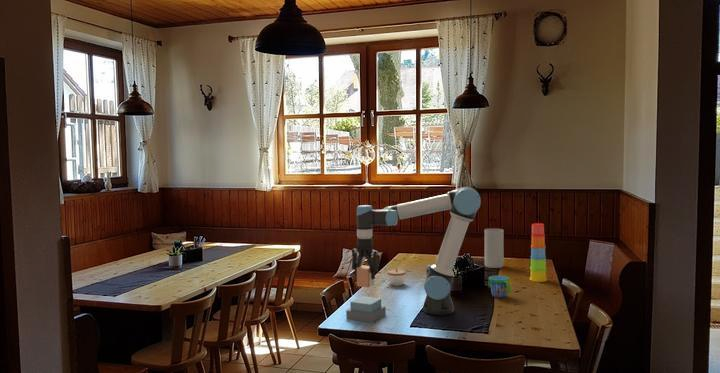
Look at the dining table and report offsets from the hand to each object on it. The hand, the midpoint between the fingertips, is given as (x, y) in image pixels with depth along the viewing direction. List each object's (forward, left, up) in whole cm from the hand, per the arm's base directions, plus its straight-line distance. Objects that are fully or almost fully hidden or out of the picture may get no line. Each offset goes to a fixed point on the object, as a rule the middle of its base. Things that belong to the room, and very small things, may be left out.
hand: (365, 284), depth 256 cm
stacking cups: (-60, -108, -16) cm, 125 cm away
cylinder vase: (-26, -134, -16) cm, 138 cm away
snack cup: (-48, -63, -16) cm, 81 cm away
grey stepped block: (0, 0, -16) cm, 16 cm away
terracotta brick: (0, 0, 0) cm, 0 cm away
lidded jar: (+13, -62, -16) cm, 65 cm away
